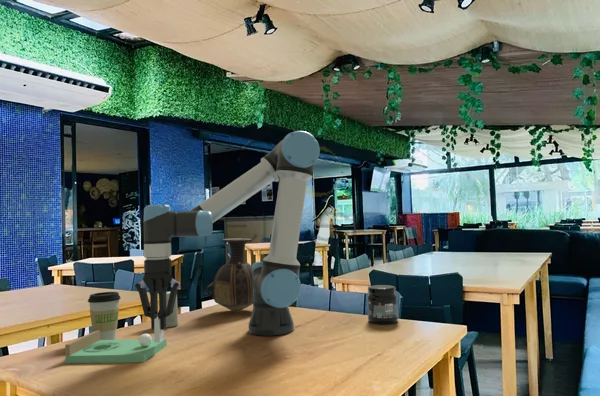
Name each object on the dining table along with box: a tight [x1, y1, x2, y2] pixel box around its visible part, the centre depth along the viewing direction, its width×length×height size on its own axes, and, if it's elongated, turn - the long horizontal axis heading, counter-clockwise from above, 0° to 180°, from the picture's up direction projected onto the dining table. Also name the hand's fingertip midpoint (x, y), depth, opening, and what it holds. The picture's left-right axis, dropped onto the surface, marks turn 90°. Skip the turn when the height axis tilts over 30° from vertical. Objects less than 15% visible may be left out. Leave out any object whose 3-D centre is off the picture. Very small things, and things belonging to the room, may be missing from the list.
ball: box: [138, 333, 153, 347], centre depth 129 cm, size 4×4×4 cm
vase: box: [206, 237, 253, 314], centre depth 183 cm, size 23×19×30 cm
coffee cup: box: [87, 291, 122, 340], centre depth 145 cm, size 10×10×15 cm
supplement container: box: [366, 284, 399, 325], centre depth 157 cm, size 10×10×12 cm
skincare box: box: [166, 291, 179, 328], centre depth 163 cm, size 6×4×12 cm
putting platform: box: [64, 330, 167, 364], centre depth 129 cm, size 22×16×5 cm
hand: (158, 341), depth 128 cm, fingers closed
